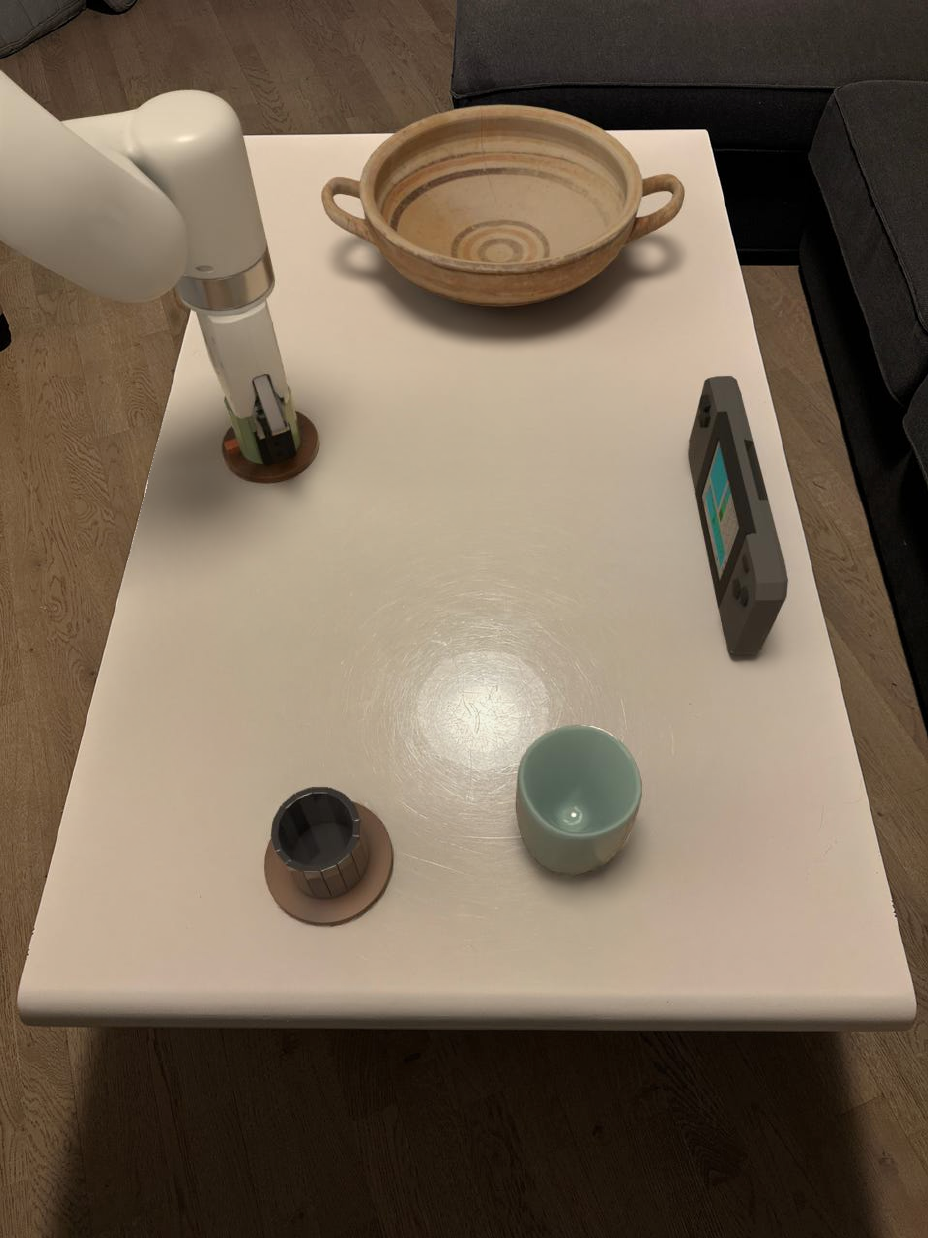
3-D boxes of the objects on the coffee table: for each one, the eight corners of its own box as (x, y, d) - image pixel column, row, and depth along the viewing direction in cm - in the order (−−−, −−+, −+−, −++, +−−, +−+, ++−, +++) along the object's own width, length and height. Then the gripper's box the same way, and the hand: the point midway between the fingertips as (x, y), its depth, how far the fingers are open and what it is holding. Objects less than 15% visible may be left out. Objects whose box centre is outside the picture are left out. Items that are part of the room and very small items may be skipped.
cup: (497, 805, 69) (499, 746, 60) (594, 770, 70) (609, 707, 62) (539, 905, 65) (547, 856, 56) (641, 865, 66) (664, 812, 58)
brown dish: (216, 483, 86) (214, 477, 86) (230, 413, 91) (229, 407, 91) (314, 483, 86) (313, 477, 86) (323, 412, 91) (322, 406, 90)
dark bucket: (282, 899, 65) (265, 872, 60) (293, 803, 68) (278, 770, 63) (366, 899, 64) (356, 872, 60) (372, 803, 68) (364, 770, 63)
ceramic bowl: (657, 186, 111) (672, 100, 102) (685, 352, 95) (705, 266, 86) (343, 189, 111) (331, 104, 103) (319, 353, 96) (303, 269, 87)
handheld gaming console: (681, 450, 88) (702, 367, 79) (711, 449, 88) (735, 366, 79) (724, 662, 75) (754, 590, 67) (759, 661, 75) (793, 589, 67)
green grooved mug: (309, 452, 87) (298, 406, 82) (237, 476, 86) (222, 430, 81) (289, 411, 90) (278, 365, 85) (219, 434, 89) (204, 388, 84)
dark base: (258, 926, 64) (256, 923, 64) (274, 802, 69) (272, 798, 69) (389, 926, 64) (388, 923, 63) (396, 802, 69) (395, 798, 68)
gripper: (147, 221, 76) (204, 389, 91) (206, 352, 67) (258, 514, 82) (237, 196, 78) (277, 365, 93) (305, 321, 69) (338, 485, 84)
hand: (268, 434), depth 87 cm, fingers closed on green grooved mug, 5 cm apart
